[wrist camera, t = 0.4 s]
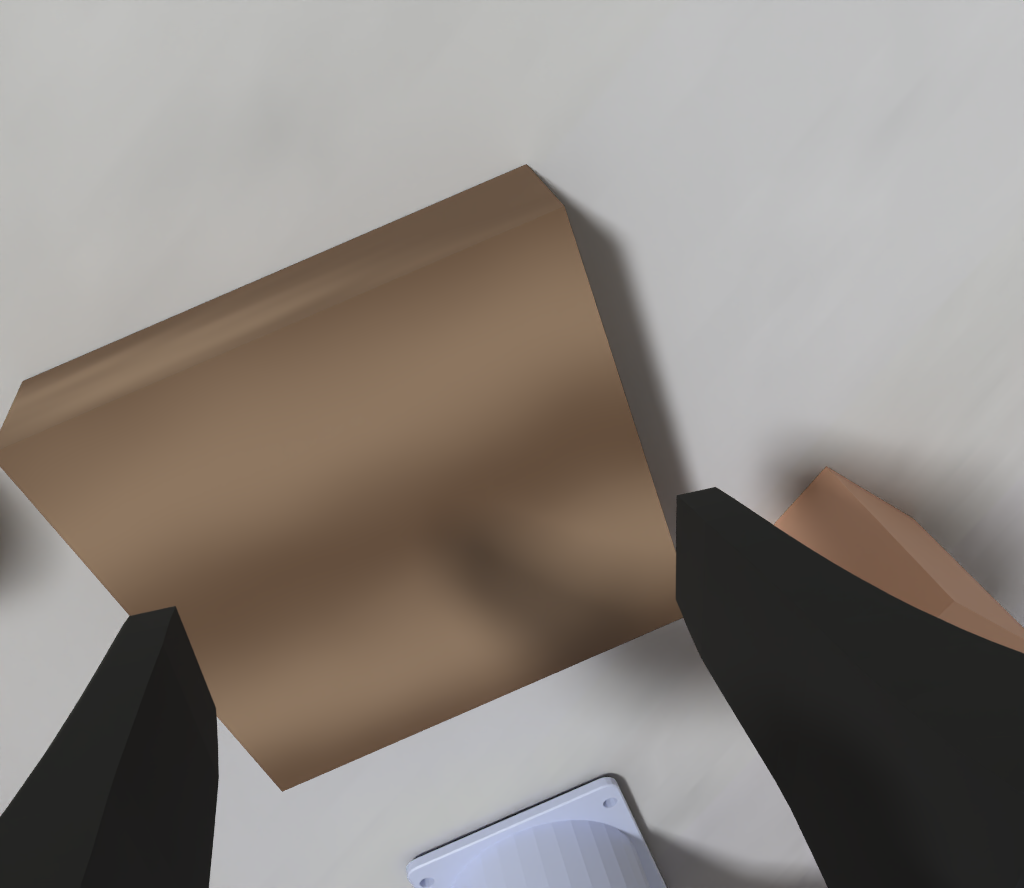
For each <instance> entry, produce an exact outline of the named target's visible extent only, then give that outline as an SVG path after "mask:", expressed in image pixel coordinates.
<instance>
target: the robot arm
mask: <svg viewBox="0 0 1024 888" xmlns="http://www.w3.org/2000/svg"><path fill="white" fill-rule="evenodd" d="M676 601H677V604H678V606H679V609H680V611H681V613H682V616H683V618H684V620H685V623H686V625H687V627H688V630H689V632H690V634H691V636H692V639H693V641H694V643H695V645H696V647H697V650H698V652H699V654H700V656H701V658H702V660H703V662H704V663H705V665H706V667H707V669H708V670H709V672H710V674H711V675H712V677H713V679H714V680H715V682H716V684H717V685H718V687H719V689H720V690H721V692H722V694H723V695H724V697H725V699H726V700H727V702H728V704H729V705H730V707H731V709H732V710H733V712H734V714H735V715H736V717H737V719H738V720H739V722H740V724H741V725H742V727H743V728H744V730H745V732H746V733H747V735H748V737H749V738H750V740H751V742H752V743H753V745H754V747H755V748H756V750H757V751H758V753H759V755H760V756H761V758H762V760H763V761H764V763H765V765H766V766H767V768H768V770H769V771H770V773H771V775H772V776H773V778H774V779H775V781H776V783H777V785H778V787H779V788H780V790H781V792H782V794H783V796H784V797H785V799H786V801H787V803H788V805H789V807H790V808H791V810H792V812H793V815H794V817H795V819H796V821H797V823H798V825H799V827H800V829H801V831H802V833H803V836H804V838H805V840H806V842H807V844H808V846H809V848H810V850H811V852H812V854H813V857H814V859H815V861H816V863H817V865H818V867H819V869H820V871H821V874H822V876H823V878H824V880H825V882H826V885H827V887H828V888H1024V653H1022V652H1019V651H1016V650H1014V649H1011V648H1008V647H1006V646H1003V645H1000V644H998V643H995V642H993V641H990V640H988V639H985V638H983V637H980V636H978V635H975V634H973V633H971V632H968V631H966V630H964V629H961V628H959V627H957V626H955V625H953V624H950V623H948V622H946V621H944V620H942V619H939V618H937V617H935V616H933V615H931V614H929V613H926V612H924V611H922V610H920V609H918V608H916V607H914V606H912V605H910V604H908V603H906V602H904V601H902V600H900V599H898V598H896V597H894V596H892V595H890V594H888V593H886V592H885V591H883V590H881V589H879V588H877V587H875V586H874V585H872V584H870V583H868V582H866V581H864V580H863V579H861V578H859V577H857V576H855V575H854V574H852V573H850V572H848V571H847V570H845V569H843V568H842V567H840V566H838V565H836V564H835V563H833V562H831V561H830V560H828V559H826V558H825V557H823V556H821V555H820V554H818V553H817V552H815V551H813V550H812V549H810V548H809V547H807V546H805V545H804V544H802V543H801V542H799V541H797V540H796V539H794V538H793V537H791V536H790V535H788V534H787V533H785V532H784V531H782V530H780V529H779V528H777V527H776V526H774V525H773V524H771V523H770V522H768V521H767V520H765V519H764V518H762V517H761V516H759V515H758V514H756V513H755V512H753V511H752V510H750V509H749V508H747V507H746V506H744V505H743V504H741V503H740V502H738V501H737V500H735V499H734V498H732V497H731V496H729V495H727V494H726V493H724V492H723V491H721V490H720V489H718V488H716V487H713V488H709V489H704V490H700V491H695V492H691V493H686V494H682V495H677V509H676ZM218 779H219V771H218V738H217V716H216V707H215V704H214V702H213V699H212V696H211V694H210V691H209V689H208V686H207V684H206V681H205V679H204V676H203V674H202V671H201V669H200V666H199V664H198V661H197V659H196V656H195V654H194V651H193V648H192V646H191V643H190V641H189V638H188V636H187V633H186V631H185V628H184V626H183V623H182V621H181V618H180V616H179V613H178V611H177V608H176V606H173V607H168V608H163V609H159V610H154V611H150V612H145V613H141V614H136V615H132V616H129V617H128V619H127V620H126V622H125V623H124V624H123V626H122V628H121V629H120V631H119V633H118V635H117V636H116V638H115V640H114V641H113V643H112V645H111V647H110V648H109V650H108V652H107V653H106V655H105V657H104V659H103V660H102V662H101V664H100V665H99V667H98V669H97V671H96V672H95V674H94V676H93V677H92V679H91V681H90V682H89V684H88V686H87V687H86V689H85V691H84V692H83V694H82V696H81V697H80V699H79V701H78V702H77V704H76V705H75V707H74V709H73V710H72V712H71V713H70V715H69V717H68V718H67V720H66V721H65V723H64V724H63V726H62V728H61V729H60V731H59V732H58V734H57V736H56V737H55V739H54V740H53V742H52V743H51V745H50V746H49V748H48V750H47V751H46V753H45V754H44V756H43V757H42V758H41V760H40V761H39V763H38V764H37V766H36V767H35V768H34V770H33V771H32V773H31V774H30V776H29V777H28V778H27V780H26V781H25V783H24V784H23V786H22V787H21V788H20V790H19V791H18V793H17V794H16V796H15V797H14V798H13V800H12V801H11V803H10V804H9V806H8V807H7V808H6V810H5V811H4V812H3V814H2V815H1V816H0V888H209V879H210V868H211V858H212V847H213V837H214V826H215V814H216V803H217V792H218ZM406 873H407V878H408V880H409V882H410V883H411V884H412V885H413V887H414V888H667V887H666V885H665V882H664V880H663V878H662V876H661V874H660V872H659V870H658V868H657V866H656V863H655V861H654V859H653V857H652V855H651V853H650V851H649V849H648V847H647V844H646V842H645V840H644V838H643V836H642V834H641V832H640V830H639V828H638V826H637V823H636V821H635V819H634V817H633V815H632V813H631V811H630V809H629V807H628V804H627V802H626V800H625V798H624V796H623V794H622V792H621V790H620V788H619V785H618V783H617V781H616V780H615V779H614V778H611V777H603V778H600V779H597V780H595V781H593V782H590V783H588V784H586V785H584V786H581V787H579V788H577V789H574V790H572V791H570V792H567V793H565V794H563V795H561V796H558V797H556V798H554V799H551V800H549V801H547V802H544V803H542V804H540V805H538V806H535V807H533V808H531V809H528V810H526V811H524V812H521V813H519V814H517V815H515V816H512V817H510V818H508V819H505V820H503V821H501V822H498V823H496V824H494V825H492V826H489V827H487V828H485V829H482V830H480V831H478V832H475V833H473V834H471V835H469V836H466V837H464V838H462V839H459V840H457V841H455V842H452V843H450V844H448V845H446V846H443V847H441V848H439V849H436V850H434V851H432V852H429V853H427V854H425V855H423V856H420V857H418V858H416V859H414V860H412V861H411V862H410V863H409V864H408V865H407V867H406Z"/></svg>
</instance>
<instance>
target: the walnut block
mask: <svg viewBox="0 0 1024 888" xmlns="http://www.w3.org/2000/svg"><path fill="white" fill-rule="evenodd" d="M0 467H1V468H2V469H3V470H4V471H5V473H6V474H7V475H8V476H9V477H10V478H11V479H12V481H13V482H14V483H15V484H16V485H17V486H18V488H19V489H20V490H21V491H22V492H23V493H24V494H25V496H26V497H27V498H28V499H29V500H30V501H31V502H32V504H33V505H34V506H35V507H36V508H37V509H38V511H39V512H40V513H41V514H42V515H43V516H44V517H45V519H46V520H47V521H48V522H49V523H50V524H51V526H52V527H53V528H54V529H55V530H56V531H57V532H58V534H59V535H60V536H61V537H62V538H63V539H64V541H65V542H66V543H67V544H68V545H69V546H70V547H71V549H72V550H73V551H74V552H75V553H76V554H77V556H78V557H79V558H80V559H81V560H82V561H83V562H84V564H85V565H86V566H87V567H88V568H89V569H90V571H91V572H92V573H93V574H94V575H95V576H96V577H97V579H98V580H99V581H100V582H101V583H102V584H103V586H104V587H105V588H106V589H107V590H108V591H109V592H110V594H111V595H112V596H113V597H114V598H115V599H116V600H117V602H118V603H119V604H120V605H121V606H122V607H123V609H124V610H125V611H126V612H127V613H128V614H129V615H130V616H132V615H136V614H141V613H145V612H150V611H154V610H159V609H163V608H168V607H173V606H176V608H177V611H178V613H179V616H180V618H181V621H182V623H183V626H184V628H185V631H186V633H187V636H188V638H189V641H190V643H191V646H192V648H193V651H194V654H195V656H196V659H197V661H198V664H199V666H200V669H201V671H202V674H203V676H204V679H205V681H206V684H207V686H208V689H209V691H210V694H211V696H212V699H213V702H214V704H215V707H216V716H217V717H218V718H219V719H220V720H221V722H222V723H223V724H224V725H225V726H226V727H227V728H228V730H229V731H230V732H231V733H232V734H233V735H234V737H235V738H236V739H237V740H238V741H239V742H240V743H241V745H242V746H243V747H244V748H245V749H246V750H247V752H248V753H249V754H250V755H251V756H252V757H253V758H254V760H255V761H256V762H257V763H258V764H259V765H260V767H261V768H262V769H263V770H264V771H265V772H266V773H267V775H268V776H269V777H270V778H271V779H272V780H273V782H274V783H275V784H276V785H277V786H278V787H279V788H280V790H281V791H282V792H283V791H285V790H287V789H289V788H292V787H294V786H296V785H299V784H301V783H303V782H306V781H308V780H310V779H312V778H315V777H317V776H319V775H322V774H324V773H326V772H329V771H331V770H333V769H335V768H338V767H340V766H342V765H345V764H347V763H349V762H352V761H354V760H356V759H359V758H361V757H363V756H365V755H368V754H370V753H372V752H375V751H377V750H379V749H382V748H384V747H386V746H388V745H391V744H393V743H395V742H398V741H400V740H402V739H405V738H407V737H409V736H411V735H414V734H416V733H418V732H421V731H423V730H425V729H428V728H430V727H432V726H435V725H437V724H439V723H441V722H444V721H446V720H448V719H451V718H453V717H455V716H458V715H460V714H462V713H464V712H467V711H469V710H471V709H474V708H476V707H478V706H481V705H483V704H485V703H488V702H490V701H492V700H494V699H497V698H499V697H501V696H504V695H506V694H508V693H511V692H513V691H515V690H517V689H520V688H522V687H524V686H527V685H529V684H531V683H534V682H536V681H538V680H540V679H543V678H545V677H547V676H550V675H552V674H554V673H557V672H559V671H561V670H564V669H566V668H568V667H570V666H573V665H575V664H577V663H580V662H582V661H584V660H587V659H589V658H591V657H593V656H596V655H598V654H600V653H603V652H605V651H607V650H610V649H612V648H614V647H616V646H619V645H621V644H623V643H626V642H628V641H630V640H633V639H635V638H637V637H640V636H642V635H644V634H646V633H649V632H651V631H653V630H656V629H658V628H660V627H663V626H665V625H667V624H669V623H672V622H674V621H676V620H679V619H681V618H683V616H682V613H681V611H680V609H679V606H678V604H677V601H676V551H675V548H674V545H673V542H672V539H671V536H670V532H669V529H668V526H667V523H666V520H665V517H664V514H663V511H662V508H661V505H660V501H659V498H658V495H657V492H656V489H655V486H654V483H653V480H652V477H651V473H650V470H649V467H648V464H647V461H646V458H645V455H644V452H643V449H642V445H641V442H640V439H639V436H638V433H637V430H636V427H635V424H634V421H633V418H632V414H631V411H630V408H629V405H628V402H627V399H626V396H625V393H624V390H623V386H622V383H621V380H620V377H619V374H618V371H617V368H616V365H615V362H614V359H613V355H612V352H611V349H610V346H609V343H608V340H607V337H606V334H605V331H604V327H603V324H602V321H601V318H600V315H599V312H598V309H597V306H596V303H595V299H594V296H593V293H592V290H591V287H590V284H589V281H588V278H587V275H586V272H585V268H584V265H583V262H582V259H581V256H580V253H579V250H578V247H577V244H576V240H575V237H574V234H573V231H572V228H571V225H570V222H569V219H568V216H567V212H566V209H565V206H564V205H563V204H562V203H561V202H560V201H559V200H558V198H557V197H556V196H555V195H554V194H553V193H552V192H551V191H550V190H549V189H548V187H547V186H546V185H545V184H544V183H543V182H542V181H541V180H540V179H539V177H538V176H537V175H536V174H535V173H534V172H533V171H532V170H531V169H530V167H529V166H528V165H527V164H526V165H523V166H521V167H519V168H517V169H514V170H512V171H510V172H507V173H505V174H503V175H500V176H498V177H496V178H493V179H491V180H489V181H486V182H484V183H482V184H479V185H477V186H475V187H472V188H470V189H468V190H465V191H463V192H461V193H459V194H456V195H454V196H452V197H449V198H447V199H445V200H442V201H440V202H438V203H435V204H433V205H431V206H428V207H426V208H424V209H421V210H419V211H417V212H414V213H412V214H410V215H407V216H405V217H403V218H400V219H398V220H396V221H394V222H391V223H389V224H387V225H384V226H382V227H380V228H377V229H375V230H373V231H370V232H368V233H366V234H363V235H361V236H359V237H356V238H354V239H352V240H349V241H347V242H345V243H342V244H340V245H338V246H336V247H333V248H331V249H329V250H326V251H324V252H322V253H319V254H317V255H315V256H312V257H310V258H308V259H305V260H303V261H301V262H298V263H296V264H294V265H291V266H289V267H287V268H284V269H282V270H280V271H278V272H275V273H273V274H271V275H268V276H266V277H264V278H261V279H259V280H257V281H254V282H252V283H250V284H247V285H245V286H243V287H240V288H238V289H236V290H233V291H231V292H229V293H226V294H224V295H222V296H220V297H217V298H215V299H213V300H210V301H208V302H206V303H203V304H201V305H199V306H196V307H194V308H192V309H189V310H187V311H185V312H182V313H180V314H178V315H175V316H173V317H171V318H168V319H166V320H164V321H162V322H159V323H157V324H155V325H152V326H150V327H148V328H145V329H143V330H141V331H138V332H136V333H134V334H131V335H129V336H127V337H124V338H122V339H120V340H117V341H115V342H113V343H110V344H108V345H106V346H104V347H101V348H99V349H97V350H94V351H92V352H90V353H87V354H85V355H83V356H80V357H78V358H76V359H73V360H71V361H69V362H66V363H64V364H62V365H59V366H57V367H55V368H52V369H50V370H48V371H45V372H43V373H41V374H39V375H36V376H34V377H32V378H29V379H27V380H25V381H23V382H22V384H21V386H20V388H19V390H18V393H17V395H16V397H15V399H14V401H13V404H12V406H11V408H10V410H9V412H8V415H7V417H6V419H5V421H4V423H3V426H2V428H1V430H0Z"/></svg>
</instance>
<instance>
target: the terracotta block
mask: <svg viewBox="0 0 1024 888" xmlns="http://www.w3.org/2000/svg"><path fill="white" fill-rule="evenodd" d="M774 526H776V527H777V528H779V529H780V530H782V531H784V532H785V533H787V534H788V535H790V536H791V537H793V538H794V539H796V540H797V541H799V542H801V543H802V544H804V545H805V546H807V547H809V548H810V549H812V550H813V551H815V552H817V553H818V554H820V555H821V556H823V557H825V558H826V559H828V560H830V561H831V562H833V563H835V564H836V565H838V566H840V567H842V568H843V569H845V570H847V571H848V572H850V573H852V574H854V575H855V576H857V577H859V578H861V579H863V580H864V581H866V582H868V583H870V584H872V585H874V586H875V587H877V588H879V589H881V590H883V591H885V592H886V593H888V594H890V595H892V596H894V597H896V598H898V599H900V600H902V601H904V602H906V603H908V604H910V605H912V606H914V607H916V608H918V609H920V610H922V611H924V612H926V613H929V614H931V615H933V616H935V617H937V618H939V619H942V620H944V621H946V622H948V623H950V624H953V625H955V626H957V627H959V628H961V629H964V630H966V631H968V632H971V633H973V634H975V635H978V636H980V637H983V638H985V639H988V640H990V641H993V642H995V643H998V644H1000V645H1003V646H1006V647H1008V648H1011V649H1014V650H1016V651H1019V652H1022V653H1024V628H1023V627H1022V626H1021V625H1020V624H1019V623H1018V622H1017V621H1016V620H1015V619H1014V618H1013V617H1012V616H1011V615H1010V614H1009V613H1008V612H1007V611H1006V610H1005V609H1004V608H1003V607H1002V606H1001V605H1000V604H999V603H998V602H997V601H996V600H995V599H994V598H993V597H992V596H991V595H990V594H989V593H988V592H987V591H986V590H985V589H984V588H983V587H982V586H981V585H980V584H979V583H978V582H977V581H976V580H975V579H974V578H973V577H972V576H971V575H970V574H969V573H968V572H967V571H966V570H965V569H964V568H963V567H962V566H961V565H960V564H958V563H957V562H956V561H955V560H954V559H953V558H952V557H951V556H950V555H949V554H948V553H947V552H946V551H945V550H944V549H943V548H942V547H941V546H940V545H939V544H938V543H937V542H936V541H935V540H934V539H933V538H932V537H931V536H930V535H929V534H928V533H927V532H926V531H925V530H924V529H923V528H922V527H921V526H920V525H919V524H918V523H917V522H916V521H915V520H914V519H913V518H911V517H910V516H908V515H906V514H905V513H903V512H901V511H900V510H898V509H896V508H895V507H893V506H891V505H890V504H888V503H886V502H885V501H883V500H881V499H880V498H878V497H876V496H875V495H873V494H871V493H870V492H868V491H866V490H865V489H863V488H861V487H860V486H858V485H856V484H855V483H853V482H851V481H850V480H848V479H846V478H845V477H843V476H841V475H840V474H838V473H837V472H835V471H833V470H832V469H830V468H828V467H827V466H826V467H825V468H824V469H823V471H822V472H821V473H820V474H819V475H818V476H817V477H816V478H815V479H814V481H813V482H812V483H811V484H810V485H809V486H808V487H807V488H806V489H805V491H804V492H803V493H802V494H801V495H800V496H799V497H798V498H797V499H796V500H795V502H794V503H793V504H792V505H791V506H790V507H789V508H788V509H787V510H786V512H785V513H784V514H783V515H782V516H781V517H780V518H779V519H778V520H777V522H776V523H775V524H774Z"/></svg>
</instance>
